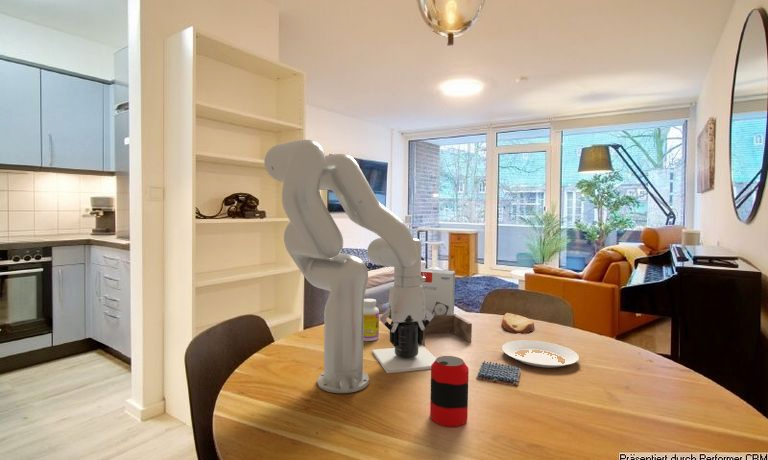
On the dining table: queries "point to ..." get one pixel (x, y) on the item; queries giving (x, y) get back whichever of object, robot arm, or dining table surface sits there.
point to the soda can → (449, 391)
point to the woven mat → (499, 373)
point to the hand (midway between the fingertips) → (406, 343)
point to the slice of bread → (517, 323)
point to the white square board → (404, 360)
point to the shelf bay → (448, 326)
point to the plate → (540, 358)
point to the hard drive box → (439, 291)
